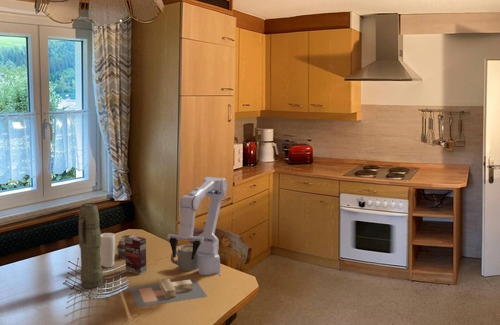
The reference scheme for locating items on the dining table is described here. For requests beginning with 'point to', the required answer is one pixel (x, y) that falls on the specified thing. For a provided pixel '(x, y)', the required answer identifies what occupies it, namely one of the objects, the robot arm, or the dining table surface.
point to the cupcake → (122, 247)
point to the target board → (154, 294)
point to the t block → (174, 287)
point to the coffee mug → (185, 258)
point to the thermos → (90, 246)
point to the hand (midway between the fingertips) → (183, 258)
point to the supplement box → (135, 254)
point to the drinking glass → (108, 249)
